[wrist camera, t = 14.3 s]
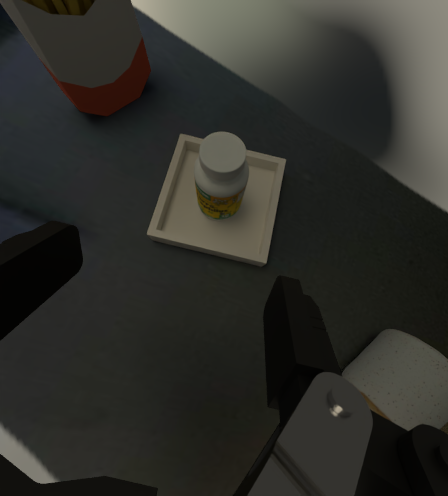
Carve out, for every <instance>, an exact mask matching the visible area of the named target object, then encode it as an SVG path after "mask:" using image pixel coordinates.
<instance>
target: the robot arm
mask: <svg viewBox="0 0 448 496" xmlns="http://www.w3.org/2000/svg"><path fill="white" fill-rule="evenodd" d="M82 263H83V256H82V250H81V244H80V237H79V231H78V229H77V227H76V226H74V225H69V224H65V223H61V222H57V221H50V222H48V223H46V224H44V225H42V226H40V227H38V228H36V229H34V230H32V231H29V232H25V233H22V234H18V235H16V236H14V237H12V238H9V239H7V240H5V241H3V242H2V244H0V340H2V339H3V338H4V337H5V336H6V335H7V334H8V333H10V332H11V331H12V330H13V329H14V328H15V327H16V326H18V325H19V324H20V323H21V322H22V321H23V320H24V319H26V318H27V317H28V316H29V315H30V314H31V313H32V312H34V311H35V310H36V309H37V308H38V307H39V306H40V305H42V304H43V303H44V302H45V301H46V300H47V299H48V298H50V297H51V296H52V295H53V294H54V293H55V292H56V291H58V290H59V289H60V288H61V287H62V286H63V285H64V284H66V283H67V282H68V281H69V280H70V279H71V278H72V277H73V276H75V275H76V274H77V273H78V272H79V270H80V268H81V266H82ZM322 320H323V319H322V316H321V313H320V310H319V307H318V306H317V305H316V303H315V302H314V301H313V299H312V298H311V297H310V296H308V295H304V294H303V291H302V288H301V284H300V281H299V280H297V279H293V278H289V277H285V276H280V275H279V276H278V277H277V279H276V281H275V283H274V285H273V288H272V290H271V293H270V295H269V297H268V300H267V302H266V305H265V308H264V315H263V322H264V342H265V362H266V382H267V403H268V407H270V408H274V409H278V410H279V413H280V423H279V424H278V426H277V427H276V429H275V431H274V432H273V434H272V435H271V437H270V439H269V440H268V442H267V443H266V445H265V446H264V448H263V450H262V451H261V453H260V454H259V456H258V457H257V459H256V461H255V462H254V464H253V465H252V467H251V468H250V470H249V472H248V473H247V475H246V476H245V478H244V480H243V481H242V483H241V484H240V486H239V487H238V489H237V490H236V492H235V493H234V494H233V496H448V435H447V434H446V433H444V432H443V431H441V430H439V429H437V428H436V427H433V426H430V425H426V424H420V425H417V426H415V427H414V428H412V429H411V430H409V431H407V430H406V429H404V428H402V427H400V426H399V425H397V424H395V423H393V422H392V421H390V420H388V419H386V418H384V417H383V416H381V415H379V414H377V413H376V412H374V411H372V410H371V409H370V408H369V406H368V404H367V402H366V400H365V399H364V397H363V395H362V394H361V393H360V392H359V390H358V389H357V388H356V387H355V386H354V385H353V384H352V383H350V382H349V381H348V380H346V379H345V378H343V376H342V374H341V371H340V368H339V365H338V362H337V359H336V356H335V353H334V351H333V348H332V345H331V342H330V339H329V336H328V333H327V332H326V327H325V325H324V322H323V321H322ZM157 490H158V488H155V487H151V486H146V485H142V484H138V483H133V482H129V481H125V480H120V479H116V478H112V477H107V476H102V477H94V478H86V479H78V480H71V481H63V482H55V483H47V484H40V483H37V482H35V481H33V480H32V479H31V478H29V477H28V476H27V475H26V474H25V473H23V472H22V471H21V470H20V469H18V468H17V467H16V466H14V465H13V464H12V463H11V462H9V461H8V460H7V459H6V458H5V457H3V456H2V455H1V454H0V496H156V495H157Z"/></svg>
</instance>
